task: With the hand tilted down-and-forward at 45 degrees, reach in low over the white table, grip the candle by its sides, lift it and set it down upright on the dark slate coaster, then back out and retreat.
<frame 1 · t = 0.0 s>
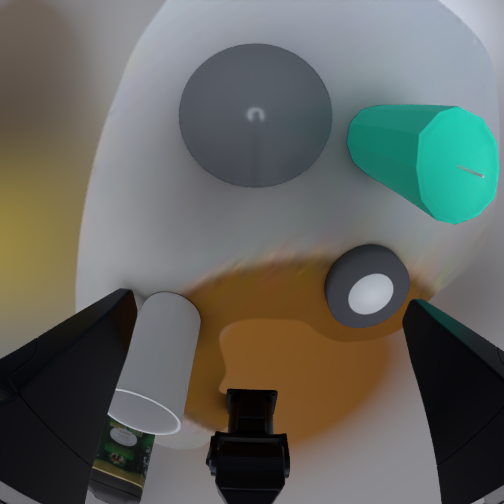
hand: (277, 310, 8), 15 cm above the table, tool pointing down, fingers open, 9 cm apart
candle: (380, 141, 19), on the table
coffee jar: (138, 397, 36), on the table
mug: (159, 305, 27), on the table
slate coaster: (255, 114, 19), on the table
dark grey round piece: (364, 282, 25), on the table
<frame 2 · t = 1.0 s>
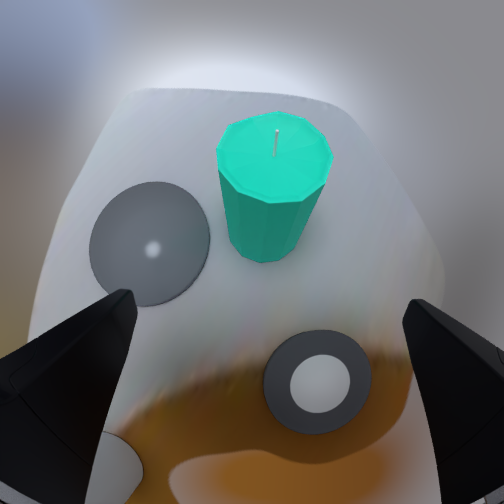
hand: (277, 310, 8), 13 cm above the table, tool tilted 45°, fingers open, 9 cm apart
candle: (263, 229, 24), on the table
mug: (98, 450, 17), on the table
slate coaster: (146, 241, 23), on the table
dark grey round piece: (314, 380, 20), on the table
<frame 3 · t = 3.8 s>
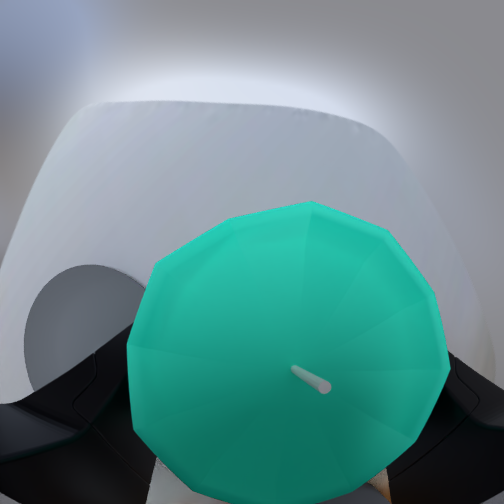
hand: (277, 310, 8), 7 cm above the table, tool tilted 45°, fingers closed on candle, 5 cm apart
candle: (263, 348, 14), on the table, touching gripper
slate coaster: (92, 358, 14), on the table
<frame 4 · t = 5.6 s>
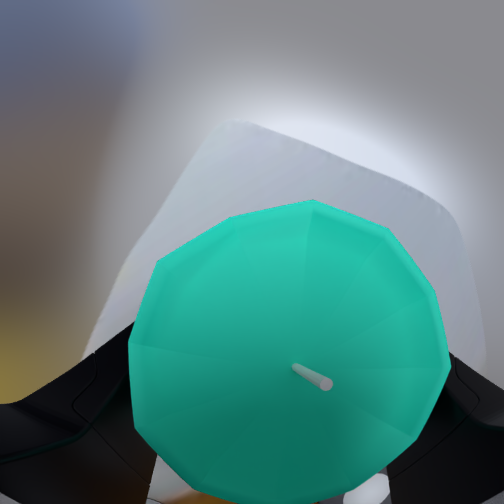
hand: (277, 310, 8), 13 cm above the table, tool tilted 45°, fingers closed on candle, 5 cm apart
candle: (263, 347, 14), point 6 cm above the table, touching gripper
dark grey round piece: (359, 484, 16), on the table
when the fingers open (8 cm above the table, at t = 7.4 s): candle stays where it is, resting on slate coaster.
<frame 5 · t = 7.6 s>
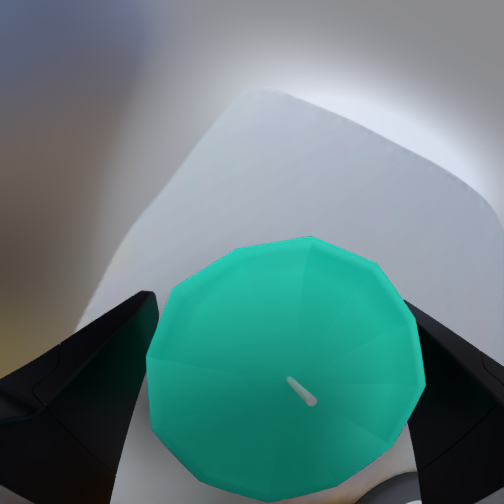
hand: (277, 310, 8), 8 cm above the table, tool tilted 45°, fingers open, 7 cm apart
candle: (261, 352, 15), point 1 cm above the table, touching slate coaster
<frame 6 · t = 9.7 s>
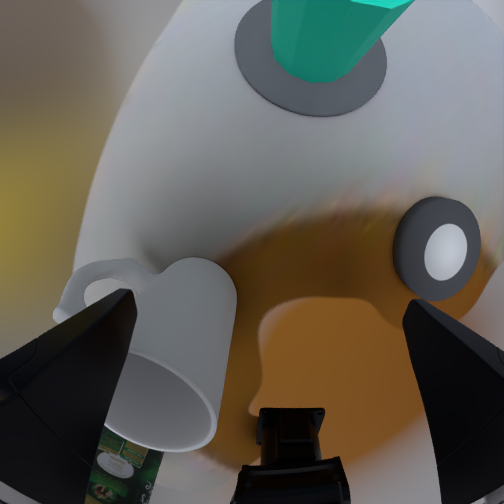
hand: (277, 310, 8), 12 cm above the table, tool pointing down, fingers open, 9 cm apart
candle: (313, 48, 15), point 1 cm above the table, touching slate coaster
coffee jar: (140, 421, 27), on the table
mug: (181, 280, 21), on the table
slate coaster: (312, 48, 16), on the table
dark grey round piece: (433, 245, 19), on the table
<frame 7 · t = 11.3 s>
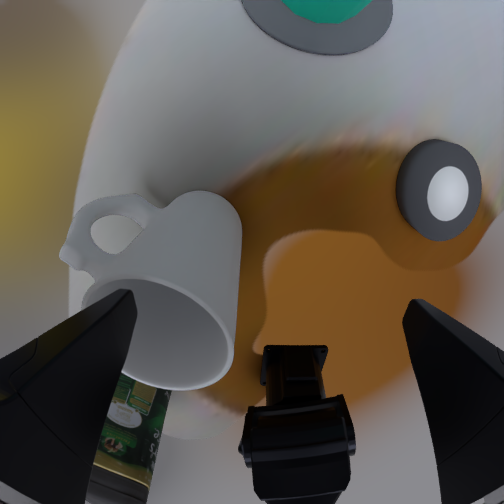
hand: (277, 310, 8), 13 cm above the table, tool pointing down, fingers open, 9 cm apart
coffee jar: (144, 367, 30), on the table
mug: (185, 215, 21), on the table
dark grey round piece: (435, 186, 19), on the table
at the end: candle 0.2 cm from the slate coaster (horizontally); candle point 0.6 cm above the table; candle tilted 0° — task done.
